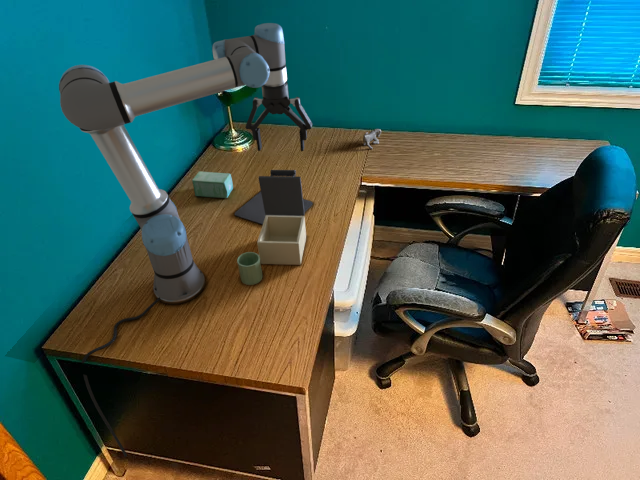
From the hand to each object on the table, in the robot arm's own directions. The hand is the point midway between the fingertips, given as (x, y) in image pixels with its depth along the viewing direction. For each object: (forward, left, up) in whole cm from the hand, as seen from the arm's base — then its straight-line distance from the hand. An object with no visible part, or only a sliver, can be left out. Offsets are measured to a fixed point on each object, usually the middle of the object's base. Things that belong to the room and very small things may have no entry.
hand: (281, 149), depth 152 cm
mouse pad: (+9, +9, -30) cm, 33 cm away
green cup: (-28, +3, -30) cm, 41 cm away
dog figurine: (+67, -17, -31) cm, 76 cm away
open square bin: (-13, -2, -30) cm, 33 cm away
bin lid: (-7, -1, -13) cm, 15 cm away
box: (+15, +36, -31) cm, 50 cm away
